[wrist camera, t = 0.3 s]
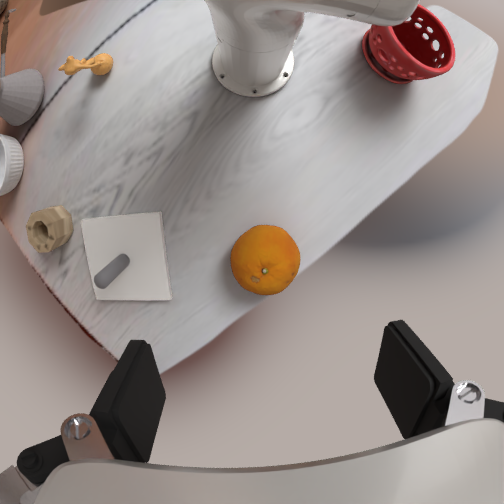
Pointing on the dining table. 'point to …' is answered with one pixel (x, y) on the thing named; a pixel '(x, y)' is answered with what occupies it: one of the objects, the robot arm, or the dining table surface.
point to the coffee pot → (18, 88)
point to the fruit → (265, 260)
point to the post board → (138, 250)
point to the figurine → (88, 64)
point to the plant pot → (409, 49)
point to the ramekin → (10, 163)
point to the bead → (49, 228)
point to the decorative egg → (3, 5)
